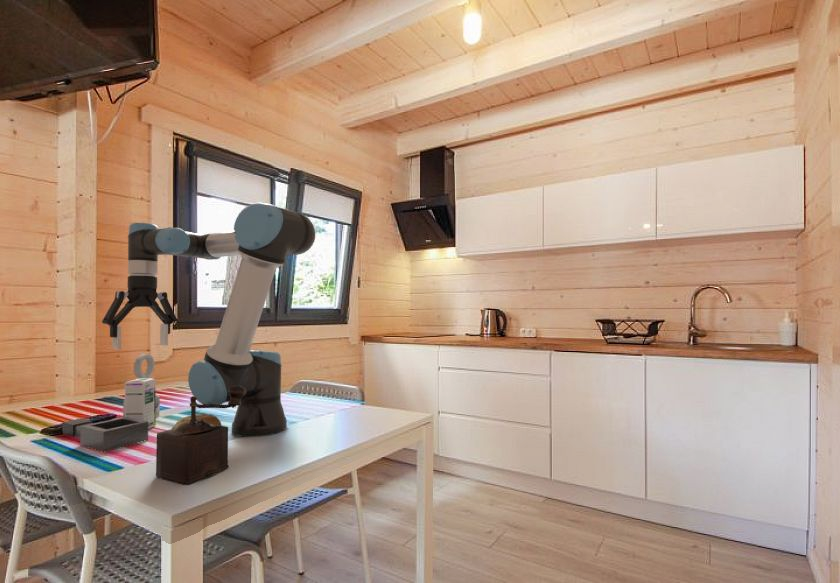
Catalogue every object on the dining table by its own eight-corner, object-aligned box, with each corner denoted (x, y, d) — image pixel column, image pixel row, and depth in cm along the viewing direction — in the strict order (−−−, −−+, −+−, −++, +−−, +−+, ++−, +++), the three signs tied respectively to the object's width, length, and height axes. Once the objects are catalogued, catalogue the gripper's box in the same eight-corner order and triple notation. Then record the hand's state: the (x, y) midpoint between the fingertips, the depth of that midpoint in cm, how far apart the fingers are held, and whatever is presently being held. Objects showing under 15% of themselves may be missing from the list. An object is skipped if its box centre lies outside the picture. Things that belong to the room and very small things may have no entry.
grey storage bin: (148, 440, 120) (148, 421, 120) (103, 452, 111) (103, 431, 111) (93, 426, 134) (93, 410, 134) (49, 436, 124) (49, 418, 124)
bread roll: (232, 439, 121) (233, 410, 121) (184, 457, 107) (184, 423, 107) (207, 435, 125) (207, 407, 125) (157, 452, 111) (157, 419, 111)
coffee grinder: (189, 486, 90) (190, 396, 90) (154, 477, 94) (155, 392, 95) (249, 462, 104) (250, 384, 104) (216, 455, 108) (217, 380, 109)
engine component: (115, 421, 139) (147, 421, 139) (116, 356, 140) (148, 356, 140) (138, 413, 150) (167, 413, 150) (139, 352, 151) (168, 352, 151)
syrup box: (144, 431, 129) (144, 381, 129) (123, 431, 129) (124, 381, 129) (155, 426, 134) (156, 377, 135) (136, 426, 134) (137, 377, 135)
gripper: (175, 278, 146) (174, 343, 145) (88, 273, 124) (87, 350, 123) (189, 277, 142) (188, 344, 141) (103, 272, 120) (101, 351, 120)
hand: (141, 347), depth 132 cm, fingers open, 13 cm apart
